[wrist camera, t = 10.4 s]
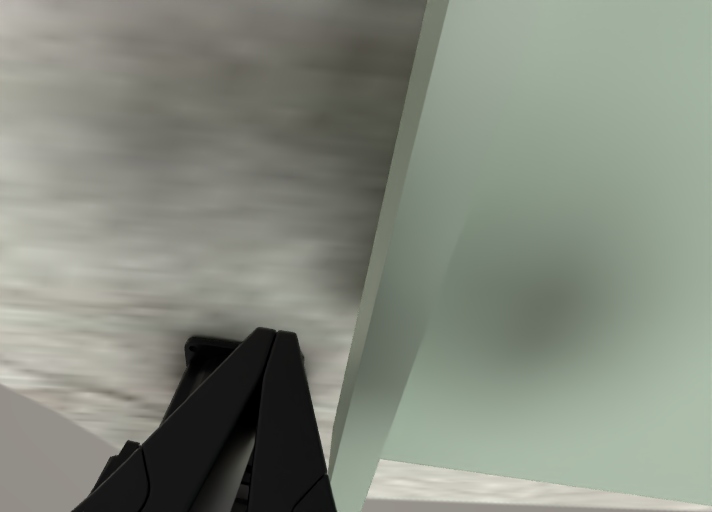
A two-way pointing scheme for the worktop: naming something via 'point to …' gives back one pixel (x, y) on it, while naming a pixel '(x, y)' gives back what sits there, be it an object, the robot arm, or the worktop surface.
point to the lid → (543, 255)
